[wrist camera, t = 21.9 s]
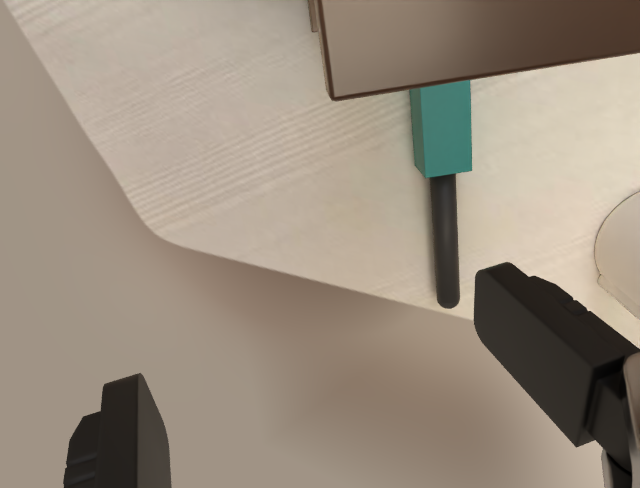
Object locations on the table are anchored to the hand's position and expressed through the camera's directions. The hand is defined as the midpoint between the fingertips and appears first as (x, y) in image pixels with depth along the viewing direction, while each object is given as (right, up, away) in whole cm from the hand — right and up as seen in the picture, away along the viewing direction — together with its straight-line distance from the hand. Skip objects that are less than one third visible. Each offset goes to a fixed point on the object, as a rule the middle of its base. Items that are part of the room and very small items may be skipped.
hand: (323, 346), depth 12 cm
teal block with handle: (+10, +7, +31) cm, 33 cm away
